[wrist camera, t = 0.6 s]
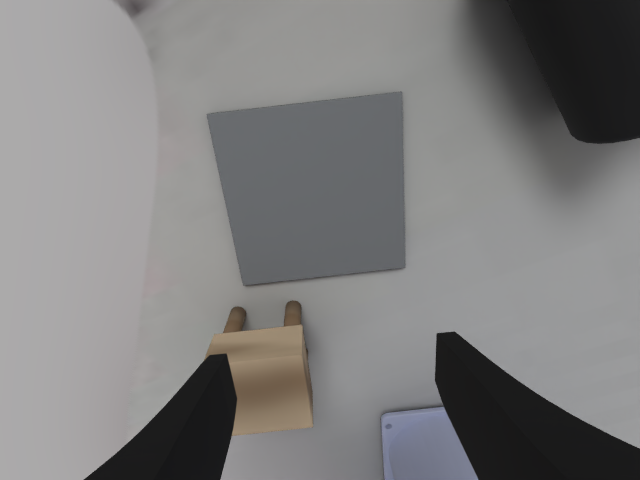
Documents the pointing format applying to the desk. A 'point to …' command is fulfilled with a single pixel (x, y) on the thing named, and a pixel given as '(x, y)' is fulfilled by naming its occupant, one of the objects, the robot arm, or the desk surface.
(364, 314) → the desk surface
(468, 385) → the robot arm
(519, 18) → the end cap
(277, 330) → the stool
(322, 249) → the mat
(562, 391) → the desk surface
